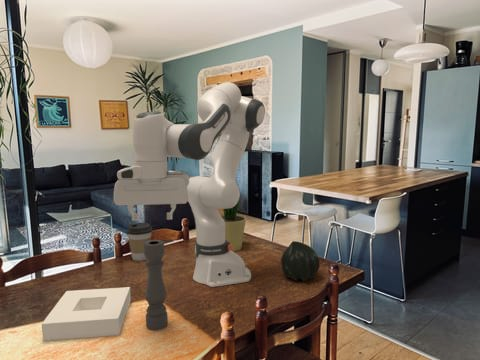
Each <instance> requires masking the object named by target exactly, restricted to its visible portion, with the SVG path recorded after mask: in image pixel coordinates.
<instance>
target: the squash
mask: <svg viewBox="0 0 480 360" xmlns="http://www.w3.org/2000/svg"><path fill="white" fill-rule="evenodd" d="M280 261H281V262H280V264H281V269H282V272H283V275H285V276H286V277H287V278H289V279H292V280H294V281H296V282H297V281H300V280H301V281H302V282H306V281H307V280H309V279H312V278H315V276H316V274H317V273H318V272H319V269H320V259H319V257H318V254H317V253H316V251H315V250H314V249H313V247H311V246H310V245H309V244H305V243H303V242H301V241H295V240H293V241H292V242H291V243H289V245H288V246H287V248H286V249H285V250H284V252H283V253H282V256H281V259H280Z"/></svg>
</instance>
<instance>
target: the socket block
mask: <svg viewBox="0 0 480 360" xmlns="http://www.w3.org/2000/svg"><path fill="white" fill-rule="evenodd" d="M130 304H131V287H130V286H127V287H125V286H124V287H110V288H109V287H108V288H93V289H92V288H91V289H78V290H77V289H76V290H66V291H65V293H63V295H62V296H61V298H60V299H59V300H58V301H57V303H56V304H55V306H54V307H52V310H51V311H50V312H49V314H48V315H47V316H46V318H45V319H44V320H42V321H43V322H42V323H41V330H42V331H41V333H42V341H43V342H48V341H49V342H50V341H61V340H62V341H64V340H75V339H86V338H99V337H112V336H120V334H121V331H122V328H123V325H124V322H125V319H126V316H127V313H128V311H129V308H130Z"/></svg>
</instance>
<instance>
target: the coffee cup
mask: <svg viewBox="0 0 480 360" xmlns="http://www.w3.org/2000/svg"><path fill="white" fill-rule="evenodd" d="M127 227H128V228H127V229H126V231H125V233H126V234H127V238H128V244H129V250H130V255H131V258H132V260H133V261H135V262H143V261H147V259H146V258H145V255H144V242H146V241H149V240H152V232H153V227H152V226H151V223H147V222H136V223H135V222H134V223H131V224H129V225H128V226H127Z"/></svg>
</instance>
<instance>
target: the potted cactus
mask: <svg viewBox="0 0 480 360" xmlns="http://www.w3.org/2000/svg"><path fill="white" fill-rule="evenodd" d="M240 205H241V204H240V199H239V200H238V202H237V204H236V205H235V206H234V207H232V208H228V209H222V211H223V214H220V216H221V217H222V218H223V219H224V221H225V240H226V241H227V240H228V241H229V242H230V244H231V245H232V246H233V249H232V251H233V252H238V251H240V250H241V249H242V247H243V241H244V235H245V234H244V232H245V227H246V220H247V218H246V216H245V215H241V214H238V209H239V207H238V206H240Z"/></svg>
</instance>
